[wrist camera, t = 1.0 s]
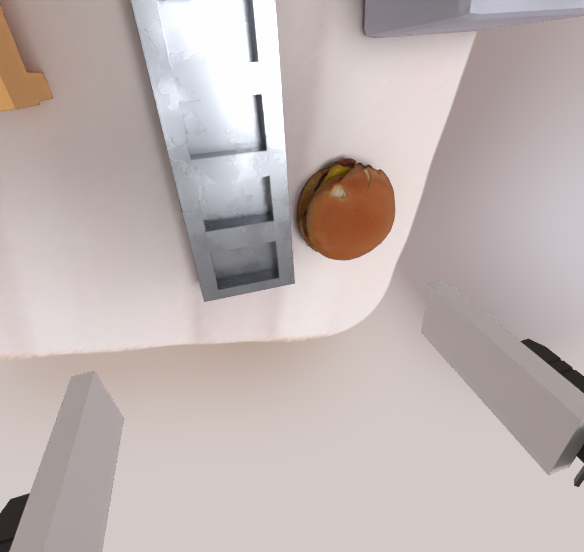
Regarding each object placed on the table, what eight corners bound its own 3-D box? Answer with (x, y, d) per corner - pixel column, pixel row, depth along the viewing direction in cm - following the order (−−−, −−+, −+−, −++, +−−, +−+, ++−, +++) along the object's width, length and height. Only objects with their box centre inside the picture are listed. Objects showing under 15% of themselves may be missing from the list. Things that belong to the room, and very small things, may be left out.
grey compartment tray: (130, -17, 23) (123, -30, 20) (262, -20, 25) (272, -33, 22) (202, 283, 35) (204, 301, 33) (285, 267, 37) (294, 283, 34)
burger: (344, 261, 39) (362, 282, 35) (278, 225, 35) (290, 244, 31) (398, 187, 36) (424, 200, 32) (334, 138, 32) (355, 146, 28)
